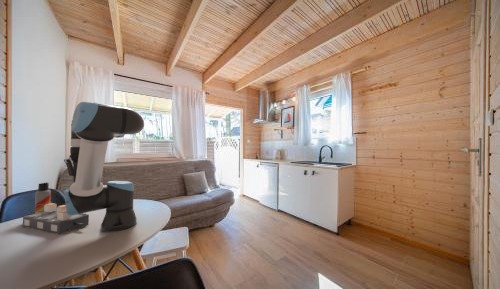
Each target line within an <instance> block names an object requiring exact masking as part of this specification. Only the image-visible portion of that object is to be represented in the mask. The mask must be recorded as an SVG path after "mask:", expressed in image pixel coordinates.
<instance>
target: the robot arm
mask: <svg viewBox="0 0 500 289" xmlns="http://www.w3.org/2000/svg"><path fill="white" fill-rule="evenodd" d="M70 123H71V124H70V131H71V132H70V146H71V147H70V149H69V150H70V151H69V153H70V155H69V157H68V158H65V159H63V161H64V164H66V167H67V172H68V175H69V176H70V177H72V178H73V183H72V184H71V185H70V186H69V188H67V189H64V191H63V192H64V194H63V195H64V202H65V205H66V211H67V214H68V215H75V214H82V213H85V214H87V213H89V212H94V211H99V210H105V214H104V216H103V219H102V222H101V224H100V230H101V232H108V233H112V232H118V231H123V230H127V229H130V228H131V227H133V226H134V225H136V224H137V215H136V213H135V210H134V195H135V194H134V193H135V188H134V187H135V186H134V183H133V182H132V181H127V180H111V181H110V180H109V181H107V182H106V184H104V183H103V182H102V177H103V171H104V165H105V160H106V155H107V150H108V144H109V142H111V141H112V140H113V139H114V138H115V139H118V138H119V139H120V138H122V139H123V138H124V136H126V135H137V134H139V133H140V132H142V130H143V129H144V126H145V121H144V118H143V117H142V116H141V114H140V113H139V112H137V111H136V110H133V109H132V108H128V107H123V106H122V107H121V106H116V105H115V106H114V105H111V104H110V105H109V104H105V103H98V102H90V101H81V102H79V103H78V104H77V105H76V106H75V109H74V112H73V115H72V120H71V122H70Z"/></svg>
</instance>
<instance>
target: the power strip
mask: <svg viewBox="0 0 500 289" xmlns="http://www.w3.org/2000/svg"><path fill="white" fill-rule="evenodd" d="M57 216H58V214H57V208H56V211H53V212H41V213H37V214H35V213H33V214H29V215H25V216H23V217H22V228H26V229H31V230H37V231H41V232H46V233H51V234H56V235H61V234H62V235H63V234H65V233H67V232H70V231H73V230H75V229H78V228H81V227H82V228H83V227H85V226H87V225H89V220H90V219H89V218H90V215H89V214H87V213H82V214H75V215H71V219H67V220H64V221H61V220H57Z"/></svg>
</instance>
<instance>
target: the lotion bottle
mask: <svg viewBox="0 0 500 289" xmlns="http://www.w3.org/2000/svg"><path fill="white" fill-rule="evenodd" d="M49 183H50V182H41V183H38V188H37V191H35V199H34V200H35V201H34V214H37V213H41V212H44V205H45V204H50V203H51V195H52V194H51V192H52V191H51V189H49V187H50V186H49Z"/></svg>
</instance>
